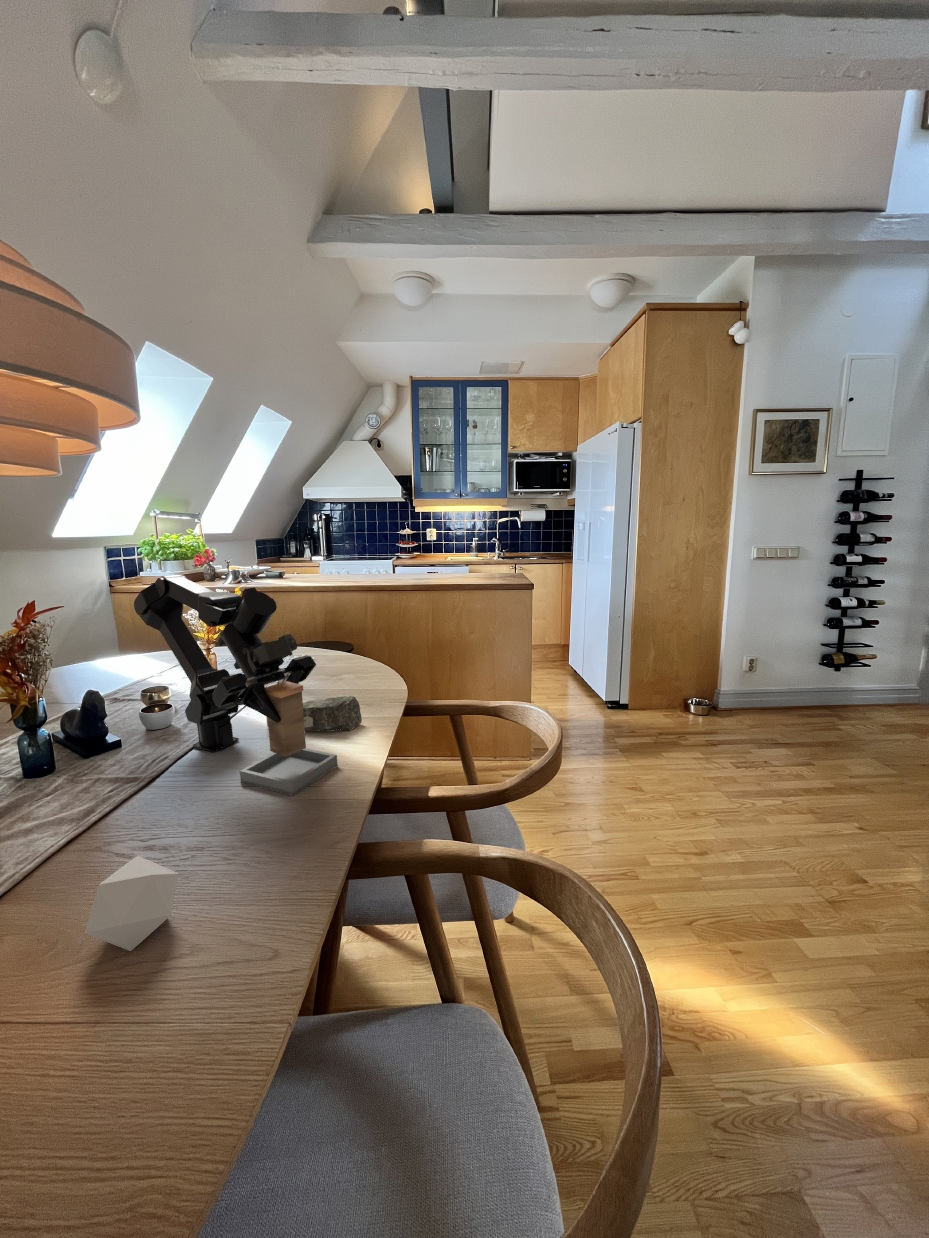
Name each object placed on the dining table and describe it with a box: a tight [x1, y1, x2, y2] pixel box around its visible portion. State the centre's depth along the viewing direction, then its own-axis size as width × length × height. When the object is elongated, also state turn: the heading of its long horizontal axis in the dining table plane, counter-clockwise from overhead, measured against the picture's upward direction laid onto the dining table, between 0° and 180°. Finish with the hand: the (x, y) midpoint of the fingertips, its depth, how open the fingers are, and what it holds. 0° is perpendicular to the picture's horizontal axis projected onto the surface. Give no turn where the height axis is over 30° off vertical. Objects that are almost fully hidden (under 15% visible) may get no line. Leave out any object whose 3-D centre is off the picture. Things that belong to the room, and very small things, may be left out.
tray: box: [239, 747, 338, 797], centre depth 95 cm, size 12×12×2 cm
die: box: [84, 855, 180, 952], centre depth 58 cm, size 8×9×10 cm
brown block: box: [265, 681, 307, 757], centre depth 93 cm, size 5×5×12 cm
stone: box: [303, 695, 363, 733], centre depth 116 cm, size 14×8×10 cm, turn 101°
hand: (290, 716), depth 93 cm, fingers closed on brown block, 4 cm apart
